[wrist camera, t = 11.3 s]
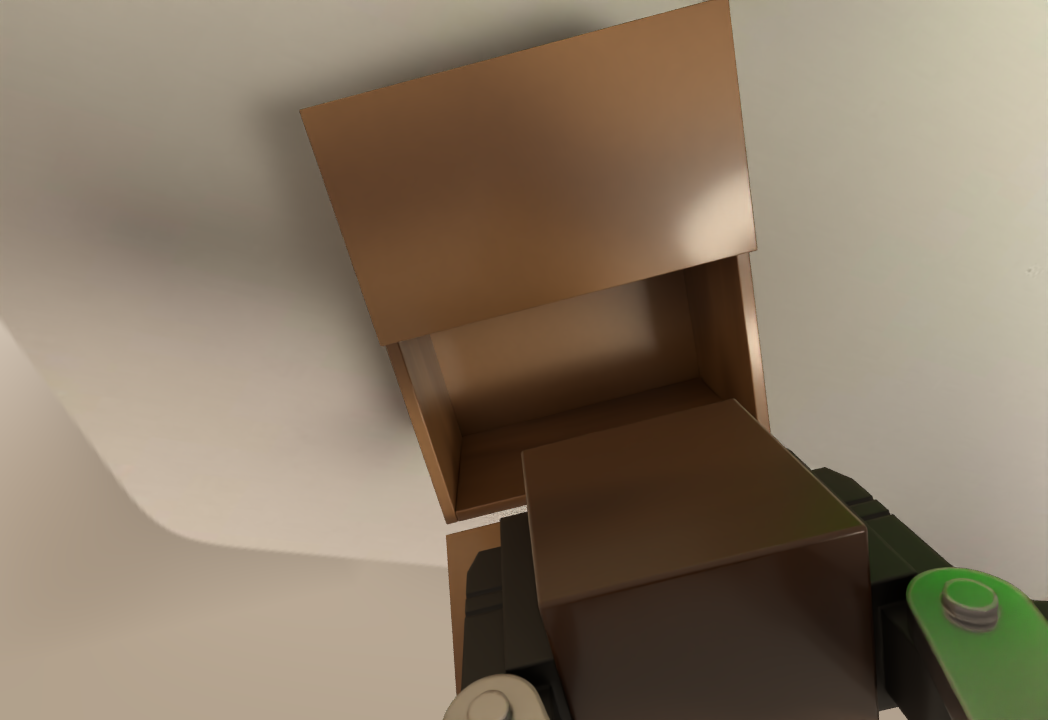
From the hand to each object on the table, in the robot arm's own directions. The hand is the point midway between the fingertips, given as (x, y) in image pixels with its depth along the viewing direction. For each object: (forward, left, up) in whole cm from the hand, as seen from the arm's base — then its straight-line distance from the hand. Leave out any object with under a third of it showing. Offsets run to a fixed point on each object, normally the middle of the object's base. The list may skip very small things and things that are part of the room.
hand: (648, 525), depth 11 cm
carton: (+3, 0, -13) cm, 13 cm away
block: (0, 0, 0) cm, 0 cm away
